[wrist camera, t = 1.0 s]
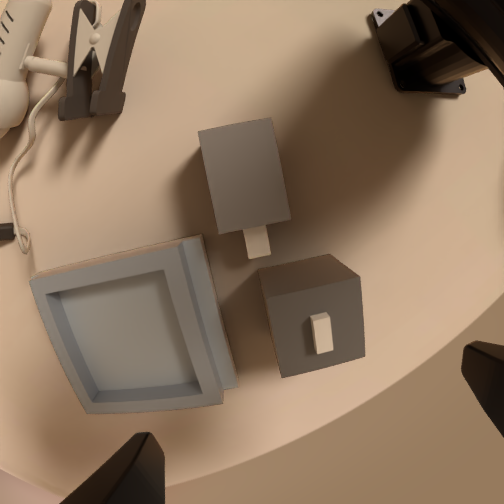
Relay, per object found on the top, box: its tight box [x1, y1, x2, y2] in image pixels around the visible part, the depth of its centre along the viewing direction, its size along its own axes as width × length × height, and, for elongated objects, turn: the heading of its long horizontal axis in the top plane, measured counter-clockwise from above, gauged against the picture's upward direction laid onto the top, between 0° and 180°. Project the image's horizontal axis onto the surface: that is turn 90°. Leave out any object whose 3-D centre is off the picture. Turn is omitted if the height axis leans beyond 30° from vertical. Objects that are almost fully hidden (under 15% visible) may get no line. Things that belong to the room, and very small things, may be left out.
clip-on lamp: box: [0, 0, 146, 254], centre depth 14 cm, size 12×6×18 cm
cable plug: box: [198, 118, 291, 259], centre depth 16 cm, size 4×7×4 cm, turn 11°
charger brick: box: [258, 254, 365, 378], centre depth 17 cm, size 4×4×6 cm
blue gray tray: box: [29, 234, 239, 414], centre depth 18 cm, size 12×10×3 cm
